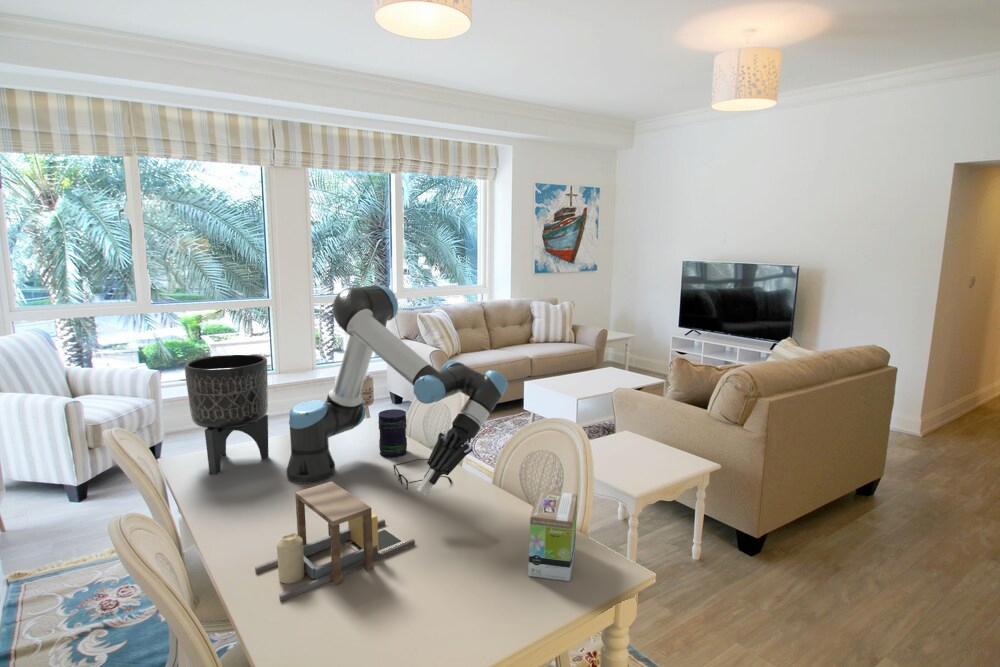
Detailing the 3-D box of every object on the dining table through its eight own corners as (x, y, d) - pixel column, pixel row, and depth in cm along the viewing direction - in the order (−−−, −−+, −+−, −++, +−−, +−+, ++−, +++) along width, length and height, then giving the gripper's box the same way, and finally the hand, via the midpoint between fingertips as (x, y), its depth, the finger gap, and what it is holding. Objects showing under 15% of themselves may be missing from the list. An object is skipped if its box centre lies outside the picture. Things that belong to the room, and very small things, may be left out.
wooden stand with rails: (251, 567, 133) (247, 506, 130) (379, 520, 155) (377, 467, 153) (285, 606, 118) (281, 539, 116) (420, 548, 141) (419, 490, 139)
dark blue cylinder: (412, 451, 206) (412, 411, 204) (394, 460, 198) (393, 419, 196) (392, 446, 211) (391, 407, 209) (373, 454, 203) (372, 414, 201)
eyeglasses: (391, 474, 187) (390, 463, 186) (436, 466, 194) (436, 455, 194) (406, 494, 173) (406, 481, 172) (454, 484, 180) (454, 472, 179)
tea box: (571, 582, 128) (573, 521, 125) (527, 577, 130) (528, 516, 127) (576, 547, 142) (577, 492, 140) (536, 543, 144) (537, 488, 142)
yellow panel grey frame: (292, 559, 135) (290, 520, 134) (354, 535, 146) (352, 499, 145) (314, 581, 127) (312, 539, 125) (378, 554, 138) (377, 515, 136)
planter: (180, 463, 195) (171, 361, 189) (251, 443, 213) (245, 351, 208) (212, 483, 179) (204, 373, 173) (286, 460, 198) (281, 360, 192)
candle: (297, 567, 133) (295, 527, 131) (309, 576, 129) (307, 535, 128) (274, 577, 129) (271, 536, 127) (286, 587, 125) (283, 545, 124)
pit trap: (346, 543, 143) (345, 542, 143) (385, 528, 151) (385, 527, 151) (365, 558, 136) (365, 558, 136) (406, 542, 144) (406, 541, 144)
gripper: (492, 432, 157) (444, 507, 149) (463, 421, 166) (415, 490, 158) (478, 418, 153) (427, 494, 144) (448, 407, 162) (399, 478, 154)
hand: (421, 492), depth 151 cm, fingers closed
